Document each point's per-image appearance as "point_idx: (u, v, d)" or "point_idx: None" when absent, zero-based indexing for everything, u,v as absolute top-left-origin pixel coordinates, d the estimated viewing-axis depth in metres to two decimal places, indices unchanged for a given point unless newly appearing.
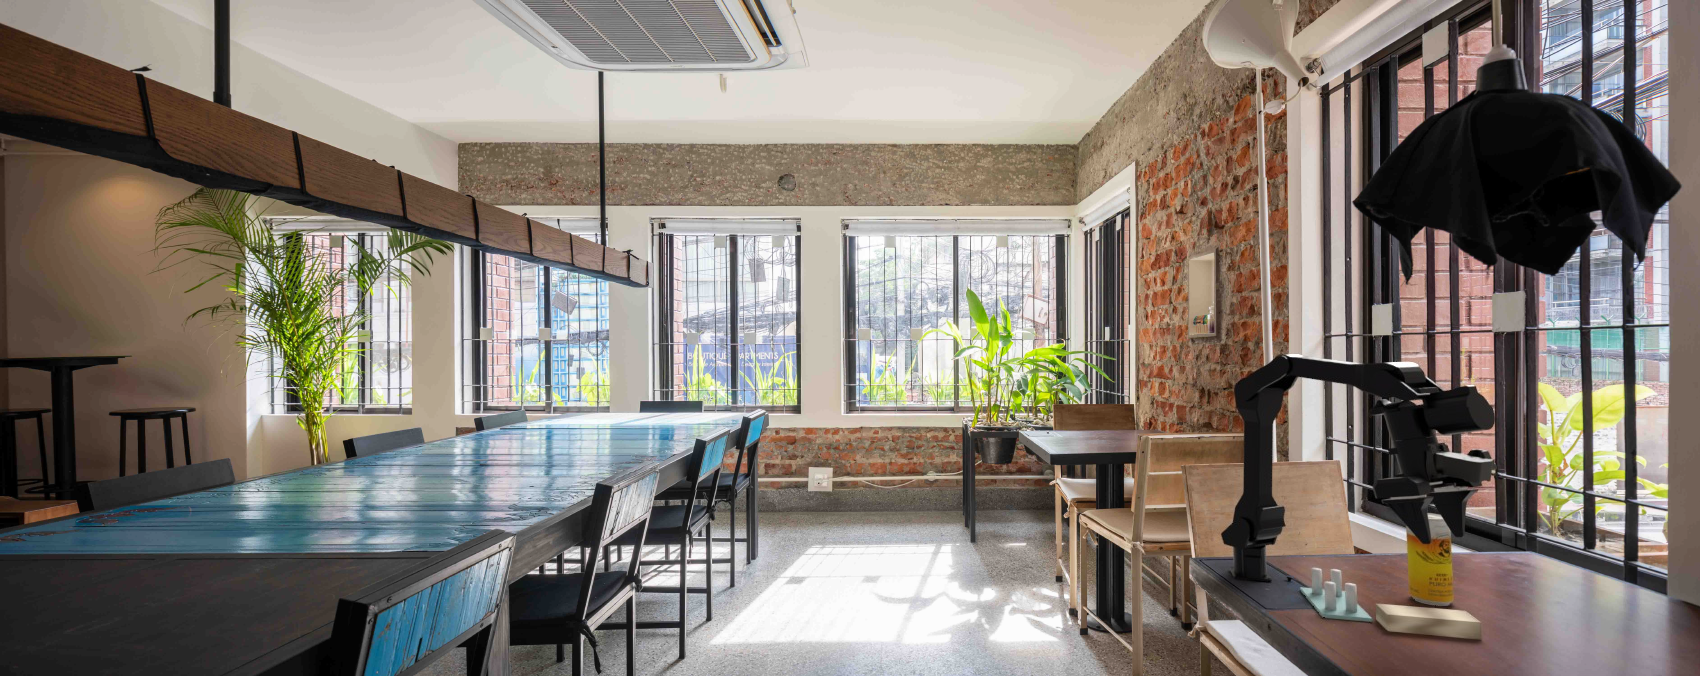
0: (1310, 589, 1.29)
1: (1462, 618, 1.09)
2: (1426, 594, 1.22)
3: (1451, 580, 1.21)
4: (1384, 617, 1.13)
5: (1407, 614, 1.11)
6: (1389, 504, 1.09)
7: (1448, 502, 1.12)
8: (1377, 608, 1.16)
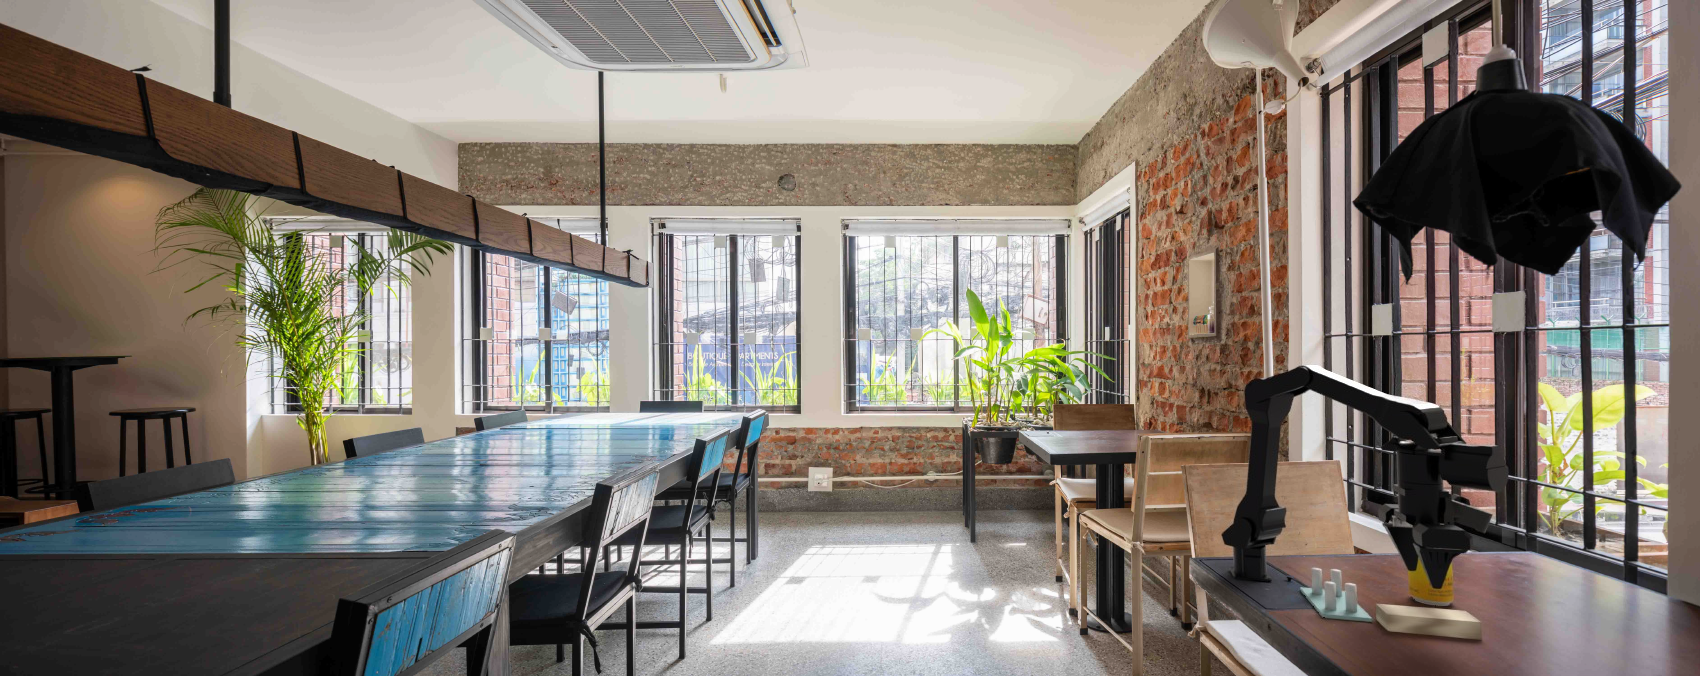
0: (1310, 589, 1.29)
1: (1462, 618, 1.09)
2: (1426, 594, 1.22)
3: (1451, 580, 1.21)
4: (1384, 617, 1.13)
5: (1407, 614, 1.11)
6: (1422, 551, 1.07)
7: (1407, 537, 1.17)
8: (1377, 608, 1.16)
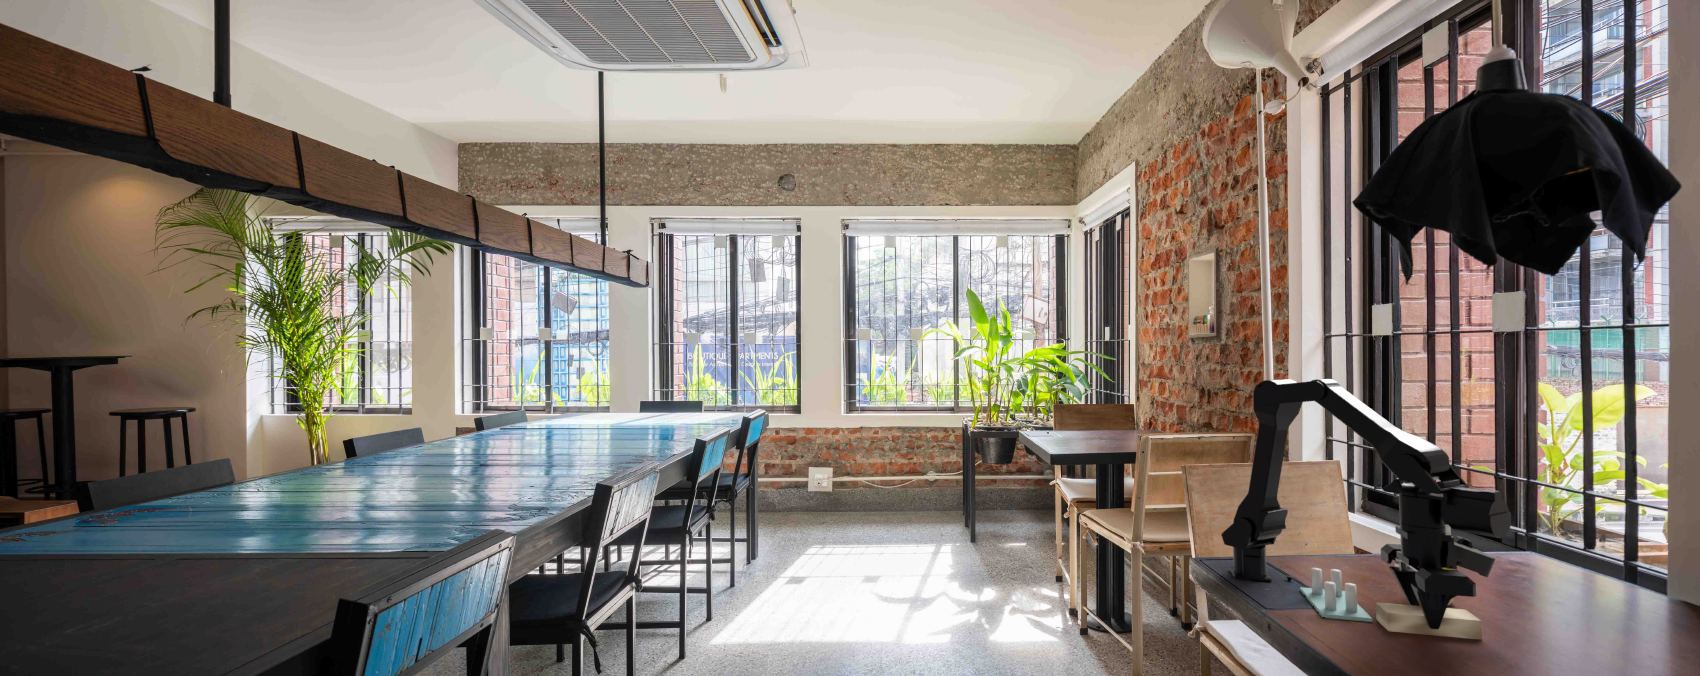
0: (1310, 589, 1.29)
1: (1462, 617, 1.09)
2: None
3: None
4: (1384, 616, 1.13)
5: (1407, 613, 1.11)
6: (1419, 592, 1.08)
7: (1415, 582, 1.15)
8: (1377, 607, 1.16)
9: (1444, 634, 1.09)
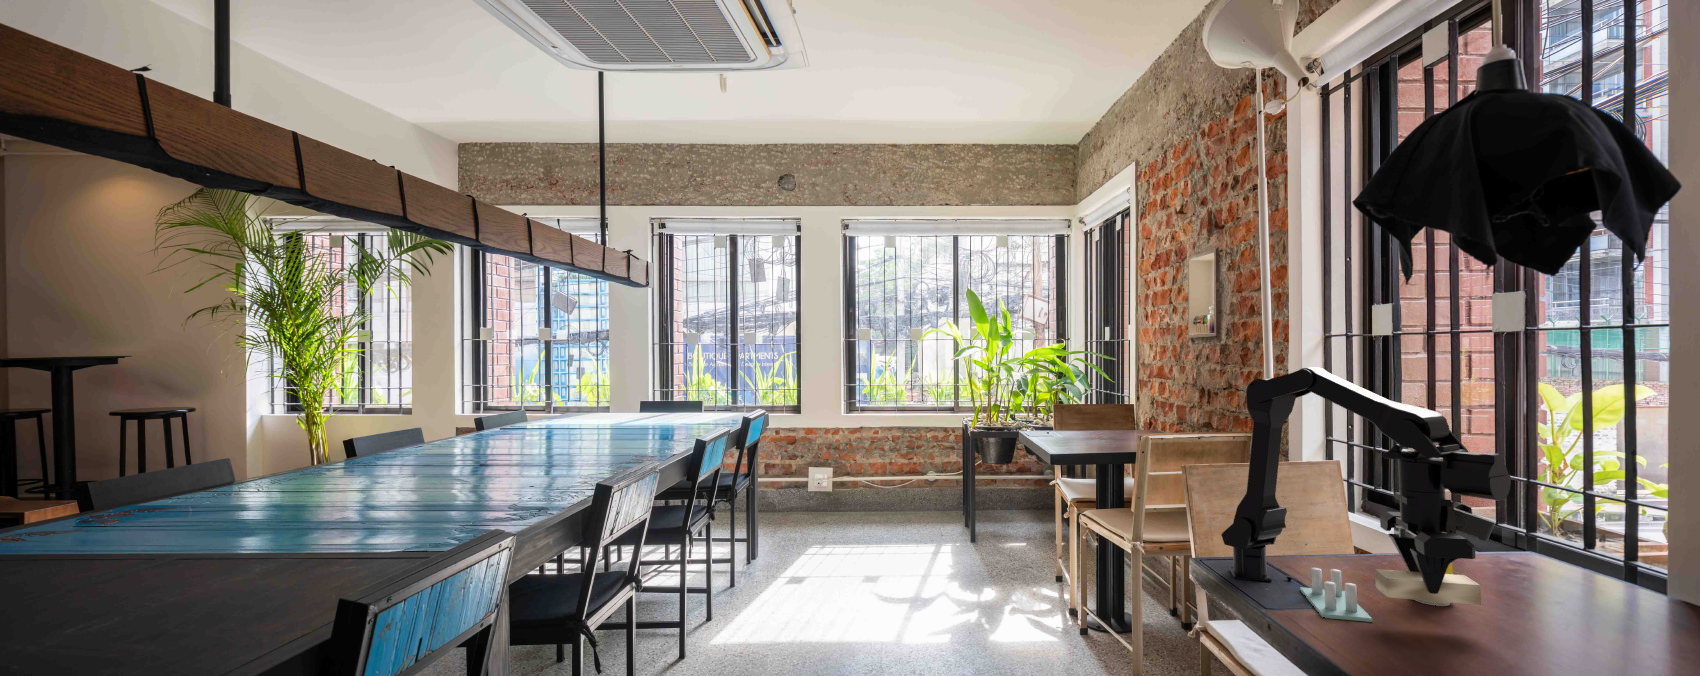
0: (1310, 589, 1.29)
1: (1461, 581, 1.09)
2: None
3: None
4: (1383, 582, 1.13)
5: (1406, 578, 1.11)
6: (1419, 556, 1.08)
7: None
8: (1376, 573, 1.16)
9: (1443, 599, 1.09)
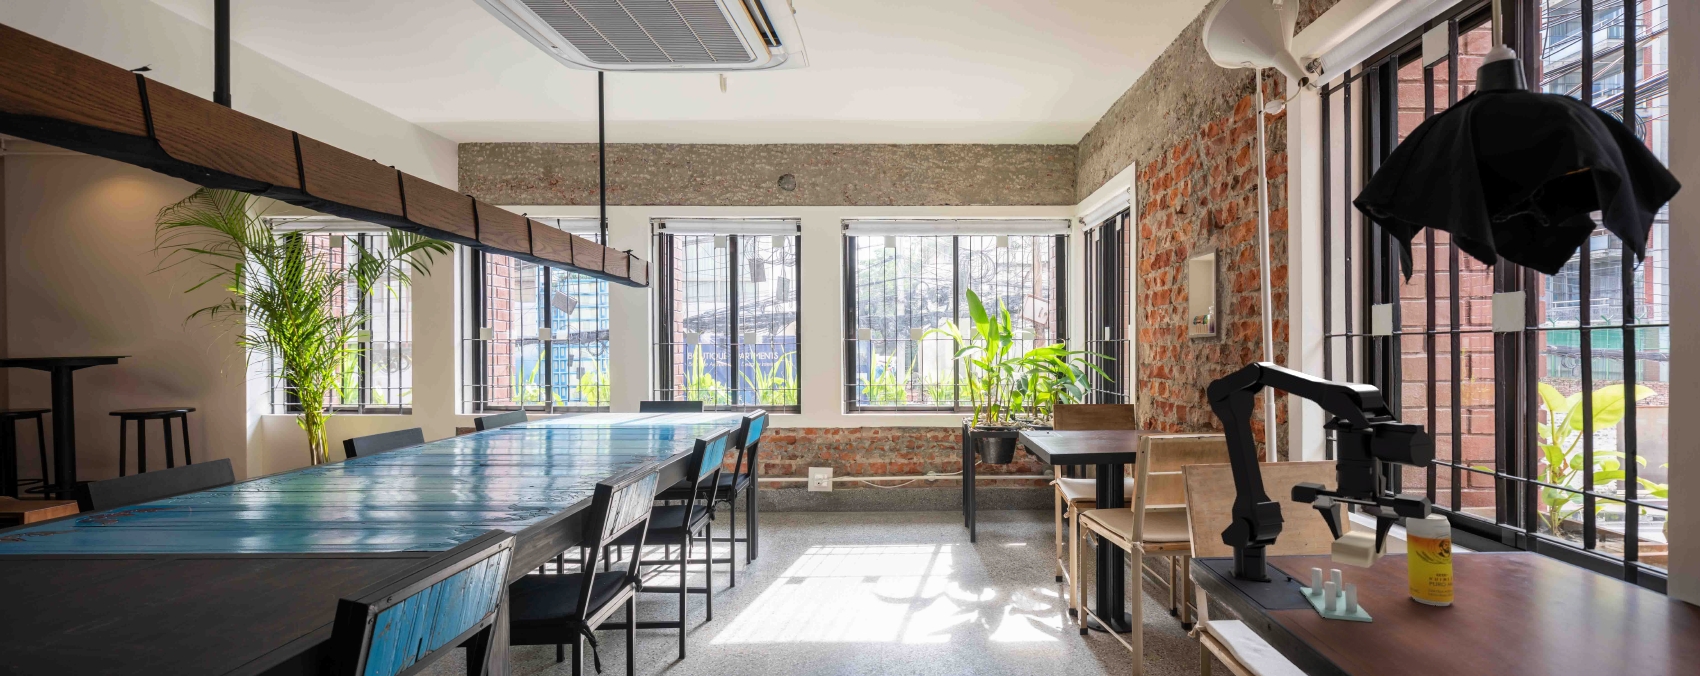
0: (1310, 589, 1.29)
1: None
2: (1426, 594, 1.22)
3: (1451, 580, 1.21)
4: (1358, 554, 1.15)
5: (1367, 545, 1.16)
6: None
7: (1337, 515, 1.22)
8: (1336, 547, 1.17)
9: (1379, 556, 1.19)
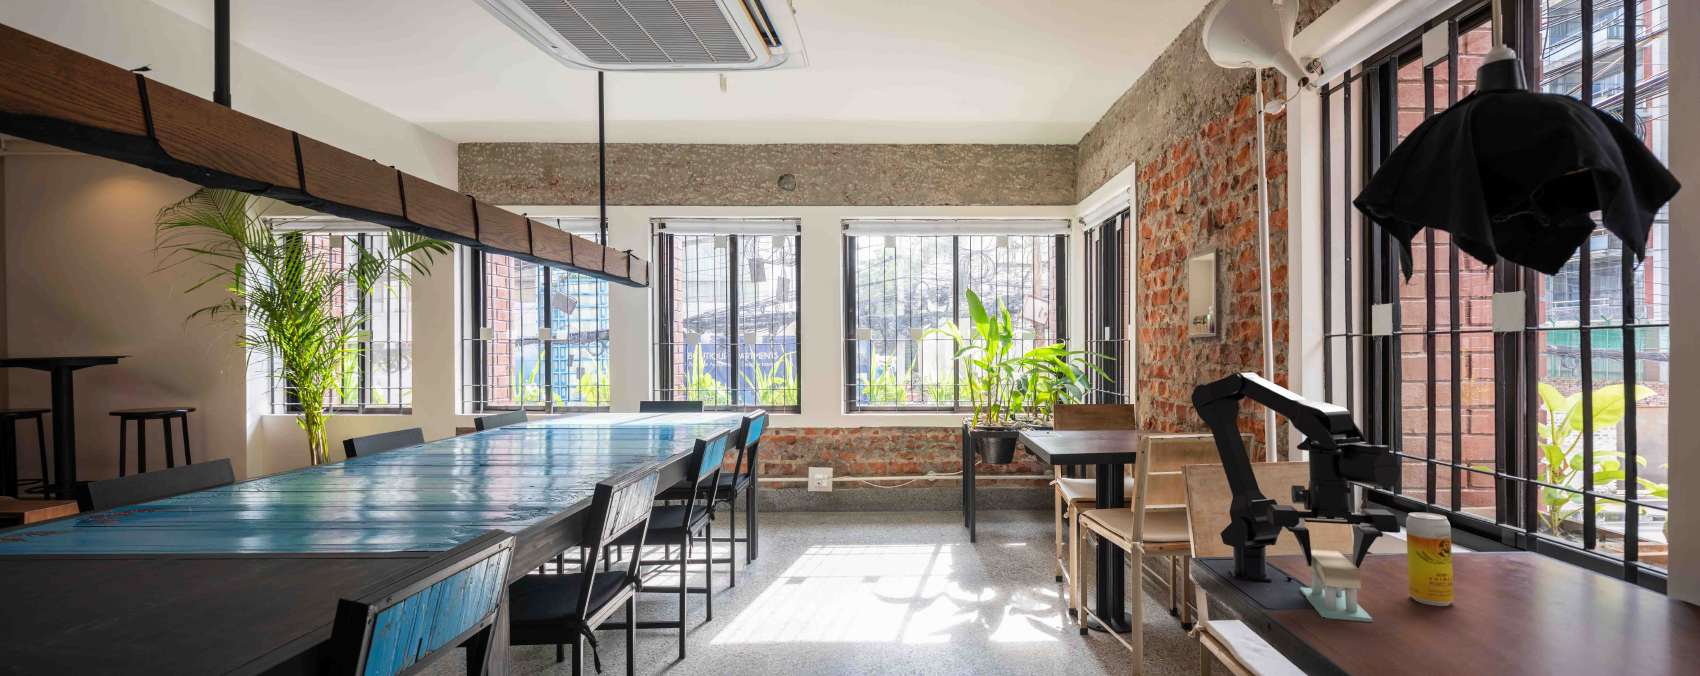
0: (1310, 589, 1.29)
1: (1334, 553, 1.27)
2: (1426, 594, 1.22)
3: (1451, 580, 1.21)
4: (1351, 575, 1.17)
5: (1350, 565, 1.20)
6: None
7: None
8: (1330, 571, 1.18)
9: None
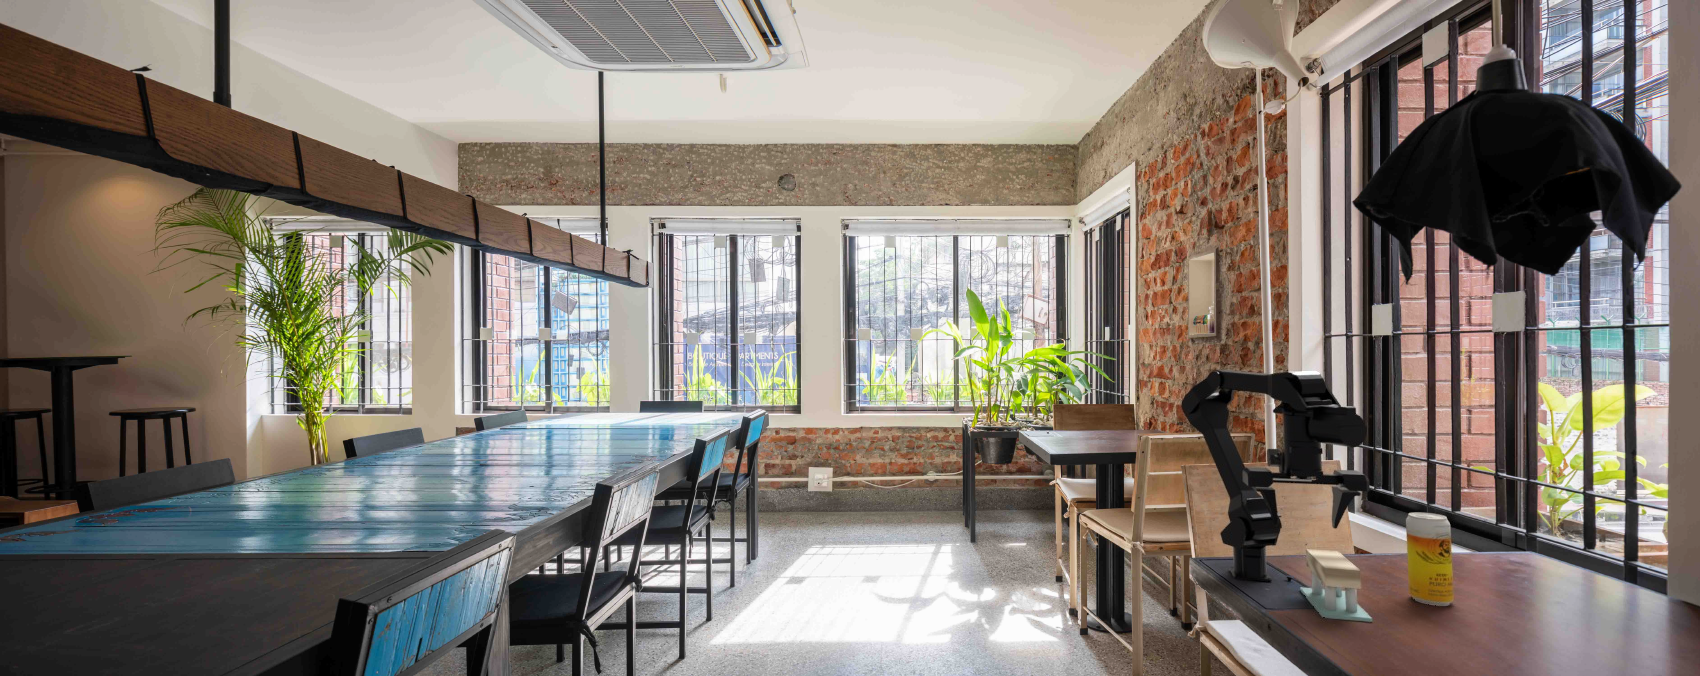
0: (1310, 589, 1.29)
1: (1334, 553, 1.27)
2: (1426, 594, 1.22)
3: (1451, 580, 1.21)
4: (1351, 575, 1.17)
5: (1350, 565, 1.20)
6: None
7: None
8: (1330, 571, 1.18)
9: None
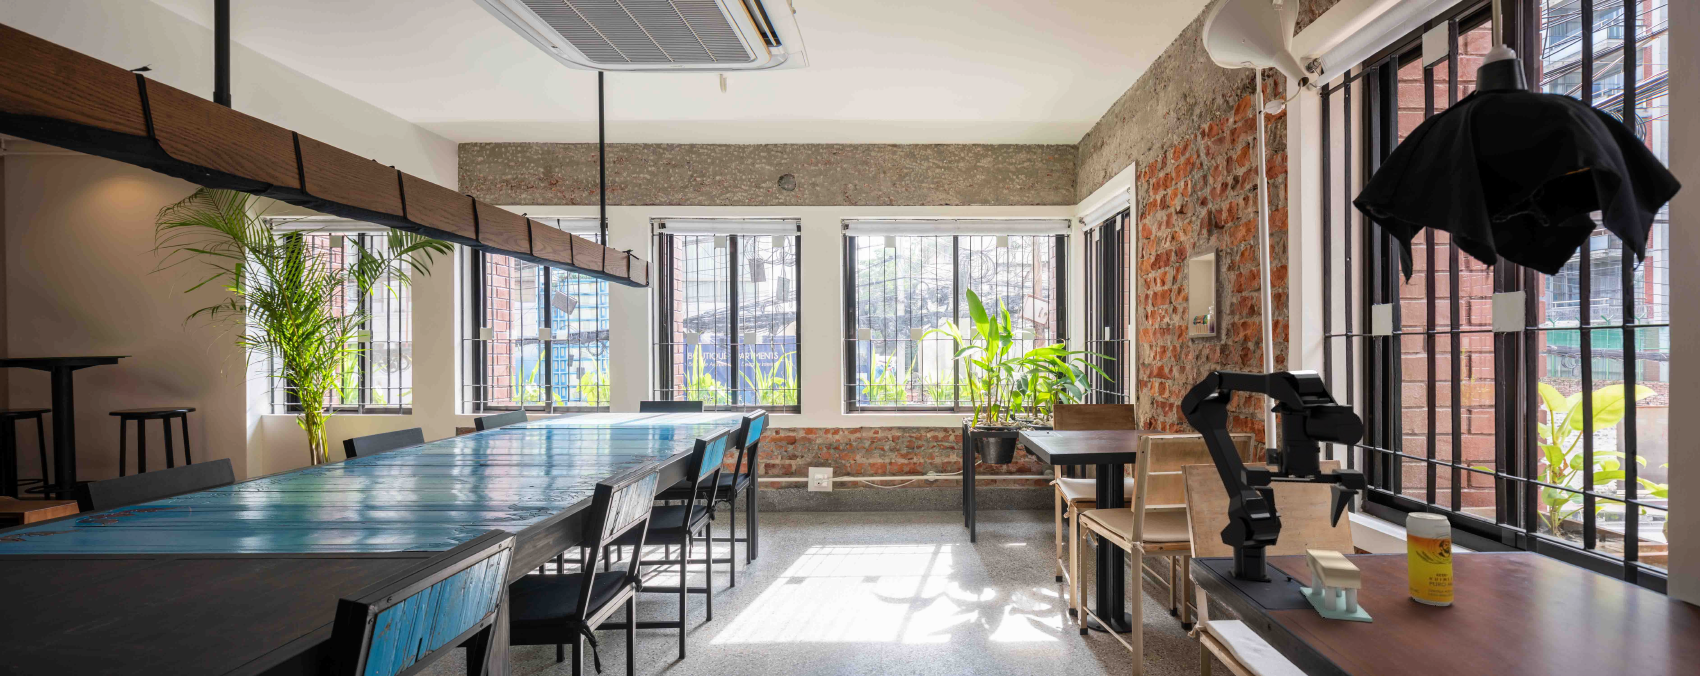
0: (1310, 589, 1.29)
1: (1334, 553, 1.27)
2: (1426, 594, 1.22)
3: (1451, 580, 1.21)
4: (1351, 575, 1.17)
5: (1350, 565, 1.20)
6: None
7: None
8: (1330, 571, 1.18)
9: None
